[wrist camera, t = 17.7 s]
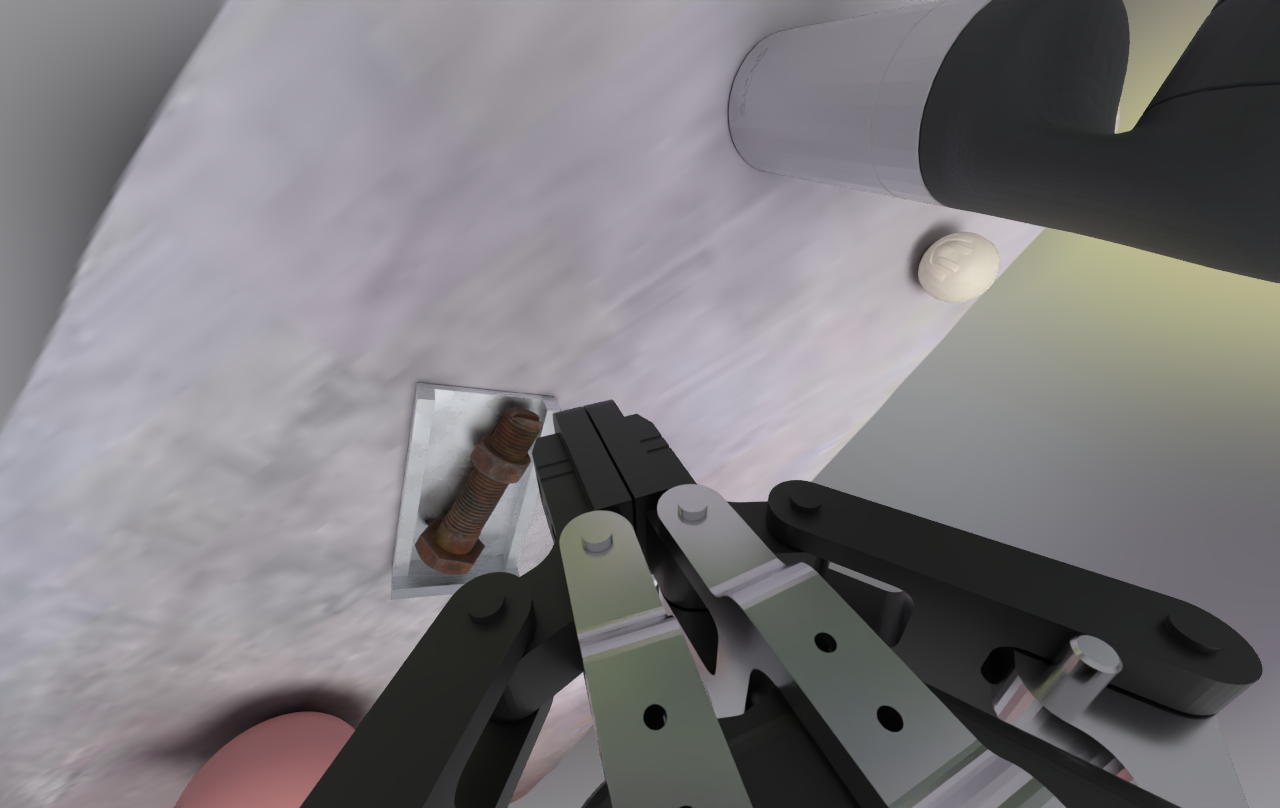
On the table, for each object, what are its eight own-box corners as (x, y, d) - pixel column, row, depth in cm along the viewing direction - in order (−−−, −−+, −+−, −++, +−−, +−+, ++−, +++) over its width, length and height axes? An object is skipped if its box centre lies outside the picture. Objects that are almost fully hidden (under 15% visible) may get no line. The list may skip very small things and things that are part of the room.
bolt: (525, 396, 42) (451, 526, 46) (483, 391, 38) (403, 536, 41) (569, 435, 40) (487, 570, 43) (529, 435, 35) (440, 585, 39)
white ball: (934, 211, 48) (998, 225, 43) (964, 245, 52) (1025, 261, 47) (891, 272, 50) (947, 291, 45) (923, 300, 54) (978, 321, 49)
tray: (554, 396, 42) (565, 420, 39) (510, 557, 50) (517, 588, 47) (417, 382, 37) (417, 408, 34) (392, 564, 45) (390, 599, 42)
